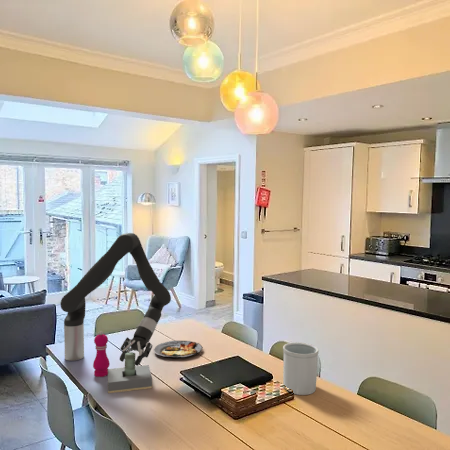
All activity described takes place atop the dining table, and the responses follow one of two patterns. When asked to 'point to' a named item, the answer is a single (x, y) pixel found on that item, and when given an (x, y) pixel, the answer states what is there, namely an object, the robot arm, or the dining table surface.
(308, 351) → the utensil holder
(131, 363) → the sage pin
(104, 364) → the pepper mill
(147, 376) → the pin block
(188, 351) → the food plate
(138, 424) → the dining table surface
